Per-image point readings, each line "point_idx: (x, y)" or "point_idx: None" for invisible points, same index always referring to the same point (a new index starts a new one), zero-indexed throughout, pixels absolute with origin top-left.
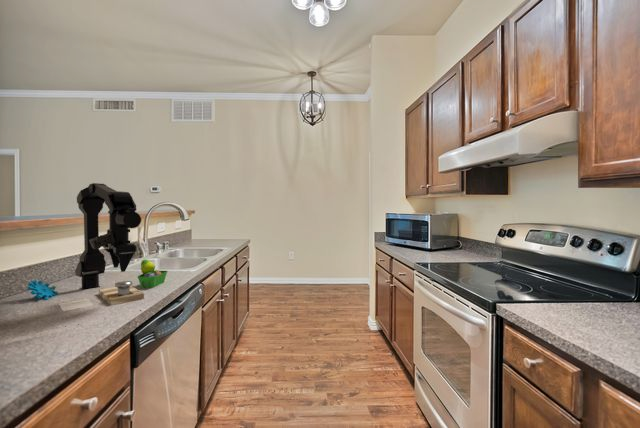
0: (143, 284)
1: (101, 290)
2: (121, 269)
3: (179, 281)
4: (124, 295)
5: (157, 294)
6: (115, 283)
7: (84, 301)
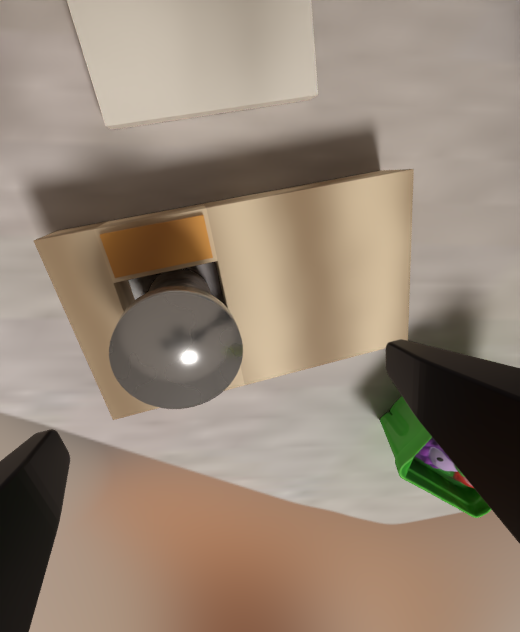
0: None
1: (366, 185)
2: (8, 460)
3: (404, 506)
4: None
5: (237, 438)
6: (187, 297)
7: (252, 66)
